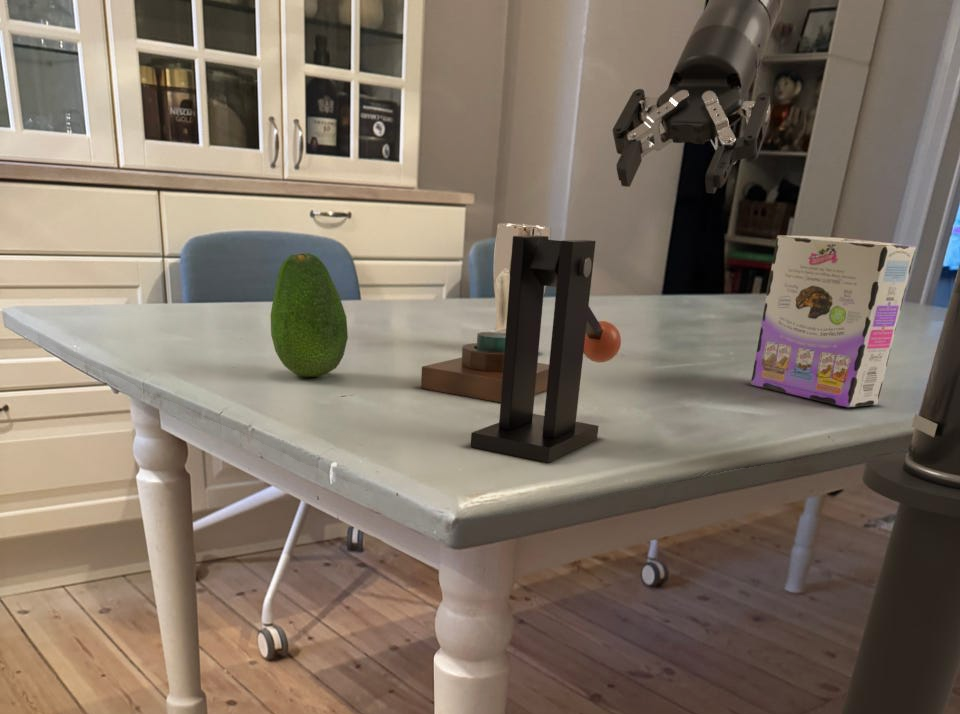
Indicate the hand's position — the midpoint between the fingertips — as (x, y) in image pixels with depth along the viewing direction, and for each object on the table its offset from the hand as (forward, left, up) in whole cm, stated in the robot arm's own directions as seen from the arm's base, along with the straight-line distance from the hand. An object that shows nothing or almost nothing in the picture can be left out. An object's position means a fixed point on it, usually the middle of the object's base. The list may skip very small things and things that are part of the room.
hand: (665, 182), depth 88 cm
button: (+14, +6, -17) cm, 23 cm away
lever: (0, +19, -12) cm, 22 cm away
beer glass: (+23, -17, -21) cm, 35 cm away
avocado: (+30, +16, -21) cm, 40 cm away
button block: (+14, +6, -20) cm, 25 cm away
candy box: (-14, -19, -21) cm, 31 cm away
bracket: (0, +24, -20) cm, 32 cm away
